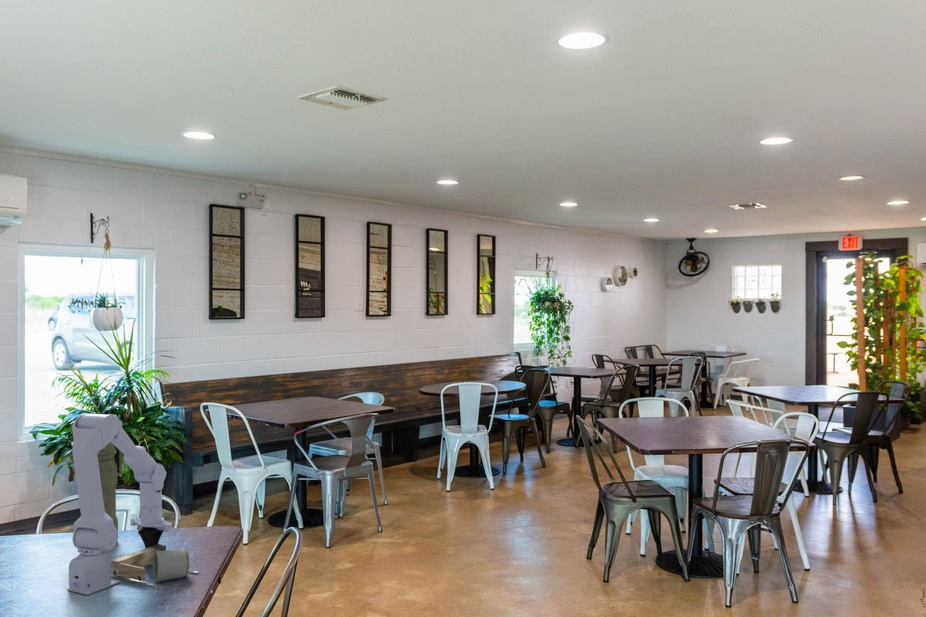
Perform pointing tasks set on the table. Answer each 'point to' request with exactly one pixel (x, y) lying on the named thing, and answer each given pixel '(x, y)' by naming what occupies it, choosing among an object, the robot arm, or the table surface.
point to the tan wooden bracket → (135, 562)
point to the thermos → (109, 478)
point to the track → (138, 580)
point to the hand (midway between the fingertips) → (151, 553)
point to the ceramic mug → (170, 564)
